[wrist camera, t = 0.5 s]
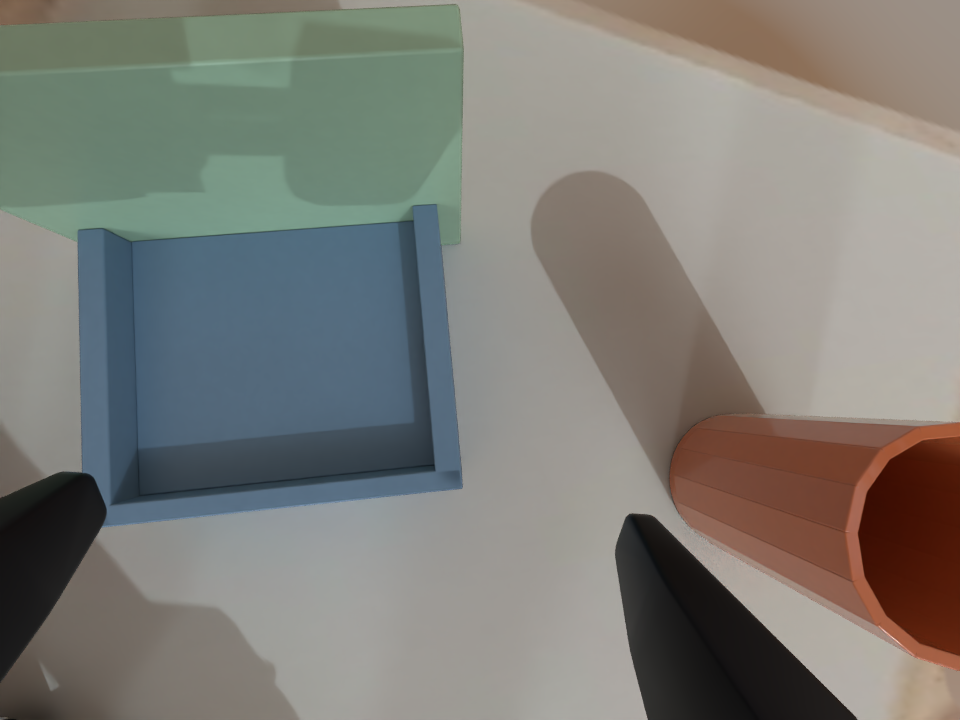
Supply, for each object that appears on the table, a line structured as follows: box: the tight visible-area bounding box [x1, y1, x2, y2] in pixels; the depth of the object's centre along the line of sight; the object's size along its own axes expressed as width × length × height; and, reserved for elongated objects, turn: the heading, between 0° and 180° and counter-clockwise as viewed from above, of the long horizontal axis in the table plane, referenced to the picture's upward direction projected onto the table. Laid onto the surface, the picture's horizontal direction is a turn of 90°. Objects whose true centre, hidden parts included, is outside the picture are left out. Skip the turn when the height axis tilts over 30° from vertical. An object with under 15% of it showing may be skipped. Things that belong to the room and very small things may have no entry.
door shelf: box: [0, 4, 464, 528], centre depth 16 cm, size 13×16×13 cm
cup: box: [670, 413, 960, 671], centre depth 18 cm, size 7×7×10 cm
